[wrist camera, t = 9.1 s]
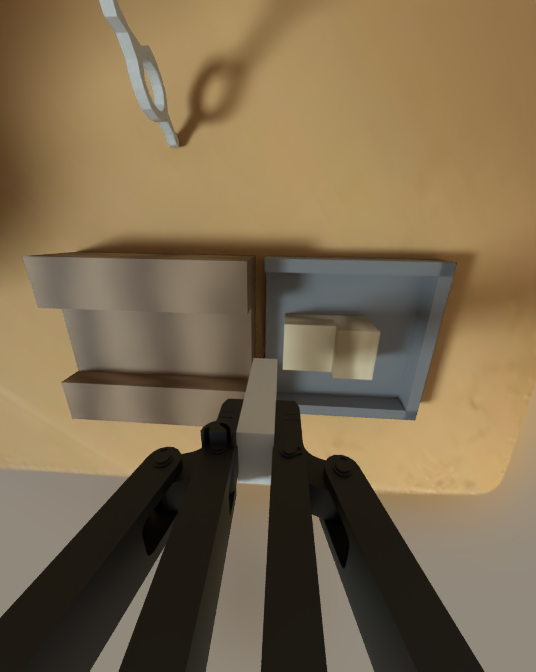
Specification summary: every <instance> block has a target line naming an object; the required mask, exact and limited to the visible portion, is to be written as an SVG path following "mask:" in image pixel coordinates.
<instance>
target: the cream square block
mask: <svg viewBox="0 0 536 672" xmlns="http://www.w3.org/2000/svg"><path fill="white" fill-rule="evenodd" d="M335 334H336V324H335V323H334V321H333V319H332V317H331V315H312V314H285V324H284V349H283V370H299V371H320V372H331V369H332V360H333V352H334V343H335Z"/></svg>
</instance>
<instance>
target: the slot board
mask: <svg viewBox="0 0 536 672" xmlns="http://www.w3.org/2000/svg"><path fill="white" fill-rule="evenodd" d="M22 257H23V260H24V263H25V267H26V270H27V273H28V276H29V279H30V283H31V286H32V289H33V292H34V296H35V299H36V302H37V305H38V308H59V309H62V312H63V316H64V320H65V323H66V327H67V330H68V334H69V338H70V341H71V345H72V349H73V352H74V356H75V359H76V363H77V367H78V370H79V371H78V372H76V373H75V374H73V375H72V376H70V377H69V378H67V379H65V380H64V381H62V382H61V383H62V386H63V390H64V393H65V396H66V399H67V403H68V406H69V409H70V412H71V416H72V419H88V420H105V421H121V422H138V423H154V424H171V425H187V426H205V425H207V424H208V423H210V422H213V421H216V420H217V418H218V415H219V412H220V409H221V406H222V404H223V403H224V402H225V401H226V400H227V399H244V397H245V393H246V388H247V384H248V380H249V376H250V371H251V367H252V363H253V358H256V330H255V256H241V255H193V254H145V253H97V252H70V253H57V254H45V255H32V256H22Z"/></svg>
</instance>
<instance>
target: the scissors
mask: <svg viewBox="0 0 536 672" xmlns="http://www.w3.org/2000/svg"><path fill="white" fill-rule="evenodd" d="M99 1H100V4H101V8H102V11H103V14H104V17H105V19H106V20H107V21H108V23H109V24H110V26H111V27H112V28H113V30H114V31H115V33H116V35H117V38H118V41H119V43H120V46H121V49H122V51H123V54H124V57H125V59H126V63H127V68H128V72H129V77H130V80H131V83H132V87H133V90H134V92H135V95H136V97H137V100H138V102H139V105H140V107H141V109H142V110H143V112H144V113H145V114H146V116H147V117H148V118H149V120H152V121H154V122H159V124H160V126H161V128H162V130H163V132H164V135H165V137H166V140H167V143H168V145H169V146H170V147H179V139H178V137H177V134H176V133H175V131H174V128H173V126H172V123H171V120H170V117H169V115H168V110H167V99H166V93H165V88H164V85H163V81H162V78H161V74H160V71H159V68H158V65H157V62H156V60H155V58H154V55H153V53H152V51H151V49H150V47H149V45H147V46H142V45H140V44H139V42H138V41H137V39H136V38H135V36H134V34H133V33H132V31H131V30H130V28H129V27H128V25H127V22H126V20H125V18H124V16H123V13H122V11H121V9H120V7H119V4H118V2H117V0H99ZM143 67H144V69H145V70H146V72H147V74H148V77H149V79H150V82H151V85H152V88H153V93H154V100H155V105H154V103H153V101H152V99H151V96H150V94H149V91H148V88H147V85H146V82H145V77H144V69H143Z"/></svg>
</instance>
